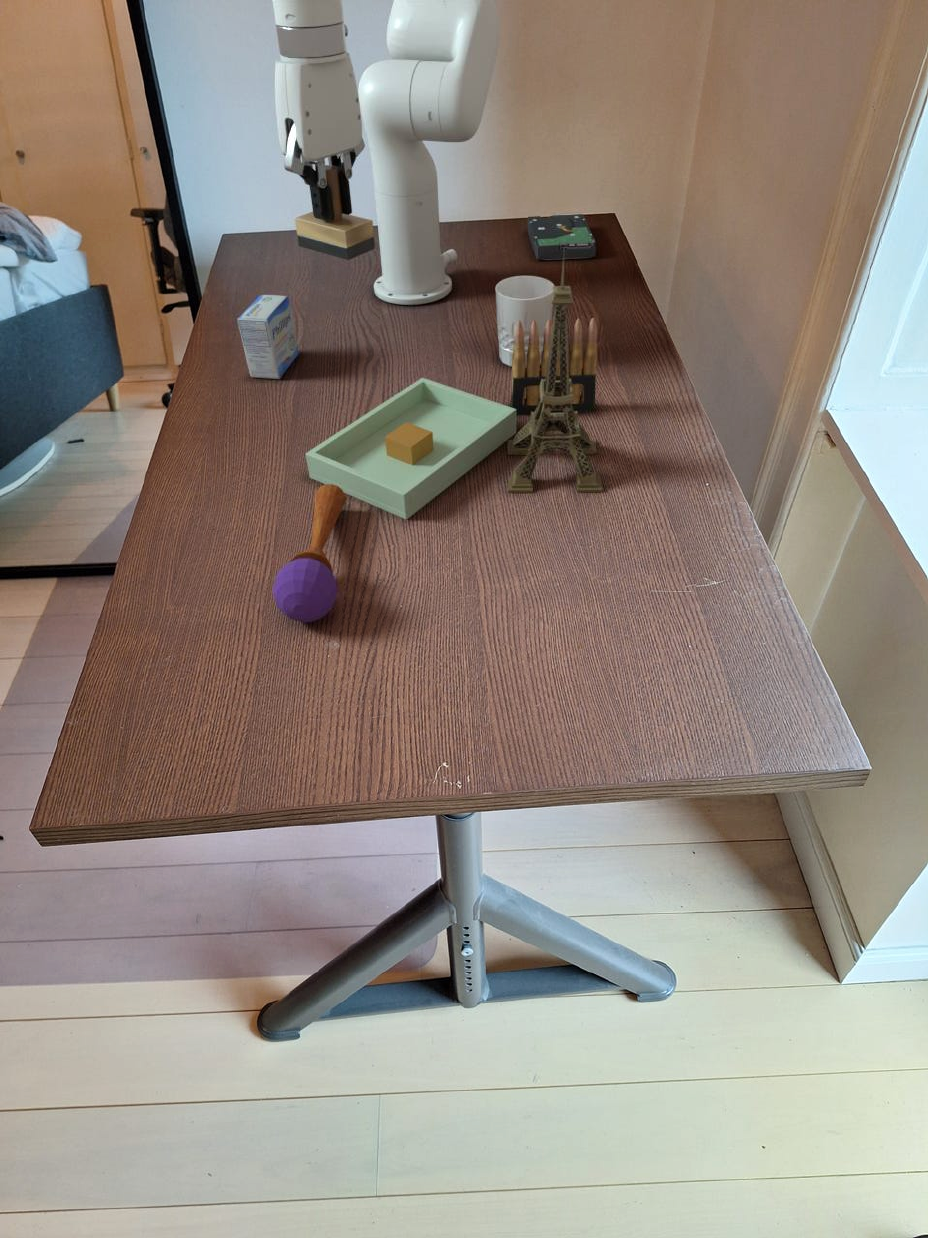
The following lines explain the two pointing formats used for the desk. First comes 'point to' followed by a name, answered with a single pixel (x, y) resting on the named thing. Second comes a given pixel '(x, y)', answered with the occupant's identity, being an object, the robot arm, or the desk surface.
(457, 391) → the tray
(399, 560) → the desk surface
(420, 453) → the wooden block
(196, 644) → the desk surface
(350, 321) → the desk surface
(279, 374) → the medicine box
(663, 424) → the desk surface
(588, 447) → the eiffel tower
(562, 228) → the disk drive
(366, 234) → the brush
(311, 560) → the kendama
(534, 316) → the white cup
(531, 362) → the ammunition clip
